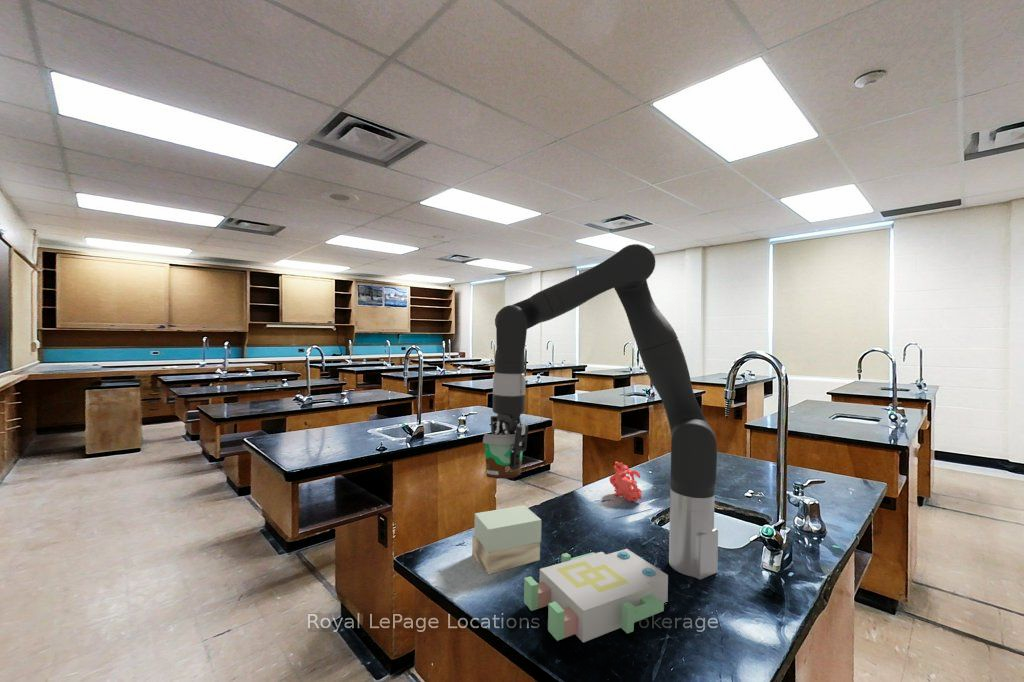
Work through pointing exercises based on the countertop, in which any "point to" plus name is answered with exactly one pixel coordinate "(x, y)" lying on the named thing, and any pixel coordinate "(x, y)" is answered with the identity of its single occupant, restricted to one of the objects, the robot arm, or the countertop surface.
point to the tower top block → (507, 528)
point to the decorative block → (597, 593)
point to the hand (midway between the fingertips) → (507, 464)
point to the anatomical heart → (625, 483)
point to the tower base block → (504, 556)
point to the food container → (500, 455)
